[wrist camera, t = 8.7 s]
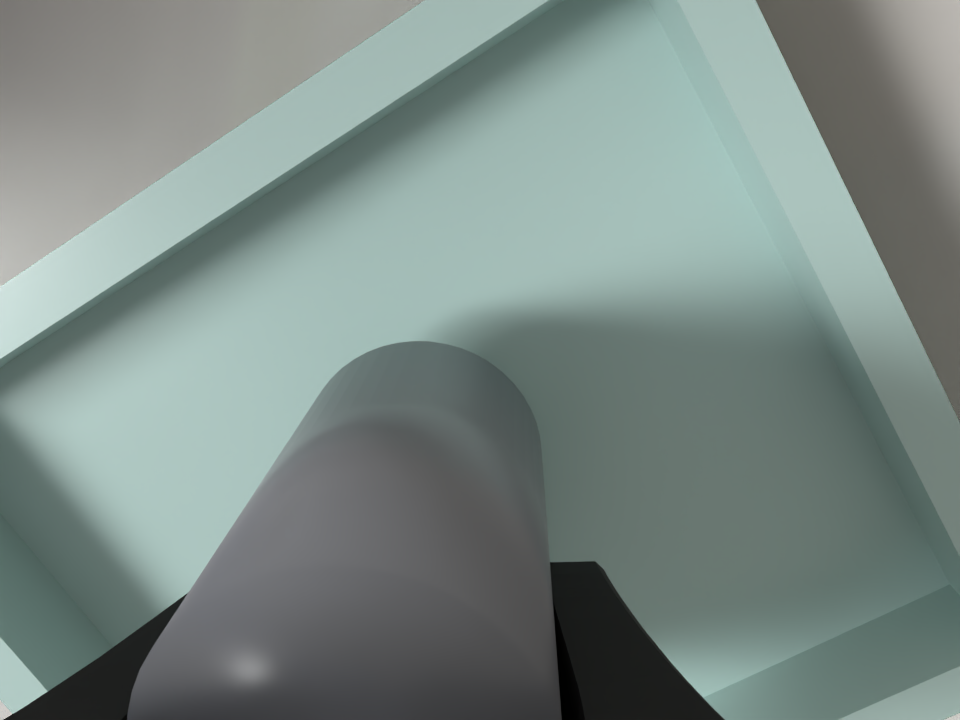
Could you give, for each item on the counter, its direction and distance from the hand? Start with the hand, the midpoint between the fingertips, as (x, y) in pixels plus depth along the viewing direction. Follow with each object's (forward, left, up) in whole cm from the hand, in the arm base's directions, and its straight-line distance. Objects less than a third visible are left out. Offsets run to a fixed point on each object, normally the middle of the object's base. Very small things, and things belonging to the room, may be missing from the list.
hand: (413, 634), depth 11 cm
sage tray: (0, 0, -4) cm, 4 cm away
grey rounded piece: (0, 0, -2) cm, 2 cm away
